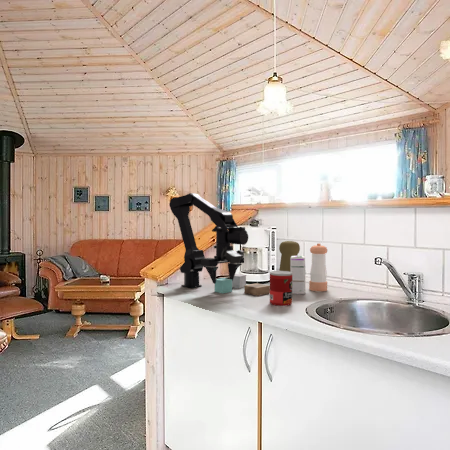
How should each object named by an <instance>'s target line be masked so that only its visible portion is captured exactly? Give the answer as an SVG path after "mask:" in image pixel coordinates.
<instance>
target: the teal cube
mask: <svg viewBox="0 0 450 450" xmlns="http://www.w3.org/2000/svg"><path fill="white" fill-rule="evenodd" d="M214 292H215V293H220V294H226V293H232V292H233V287H232V279H230V278H225V277H223V278H222V277H221V278H216V283H215V284H214Z"/></svg>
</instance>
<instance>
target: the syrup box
mask: <svg viewBox="0 0 450 450" xmlns="http://www.w3.org/2000/svg"><path fill="white" fill-rule="evenodd" d="M290 272H292V295H305V294H306V256H305V255H298V256H291V258H290Z"/></svg>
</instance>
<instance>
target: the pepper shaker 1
mask: <svg viewBox="0 0 450 450" xmlns="http://www.w3.org/2000/svg"><path fill="white" fill-rule="evenodd" d="M278 250H279V253H280V262H279V268H278V269H279V270H278V271H289V272H290V258H291V256H299V255H298V254H299V253H300V250H301V246H300V243H299V242H298V241H293V240H286V241H281V242H280V244H279V246H278Z"/></svg>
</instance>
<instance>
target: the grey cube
mask: <svg viewBox="0 0 450 450" xmlns="http://www.w3.org/2000/svg"><path fill="white" fill-rule="evenodd" d="M244 285H247V275H246V274H239V273H235V276H234V278H233V281H232V288H234V289H235V288H237V289H242V288H244Z"/></svg>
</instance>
